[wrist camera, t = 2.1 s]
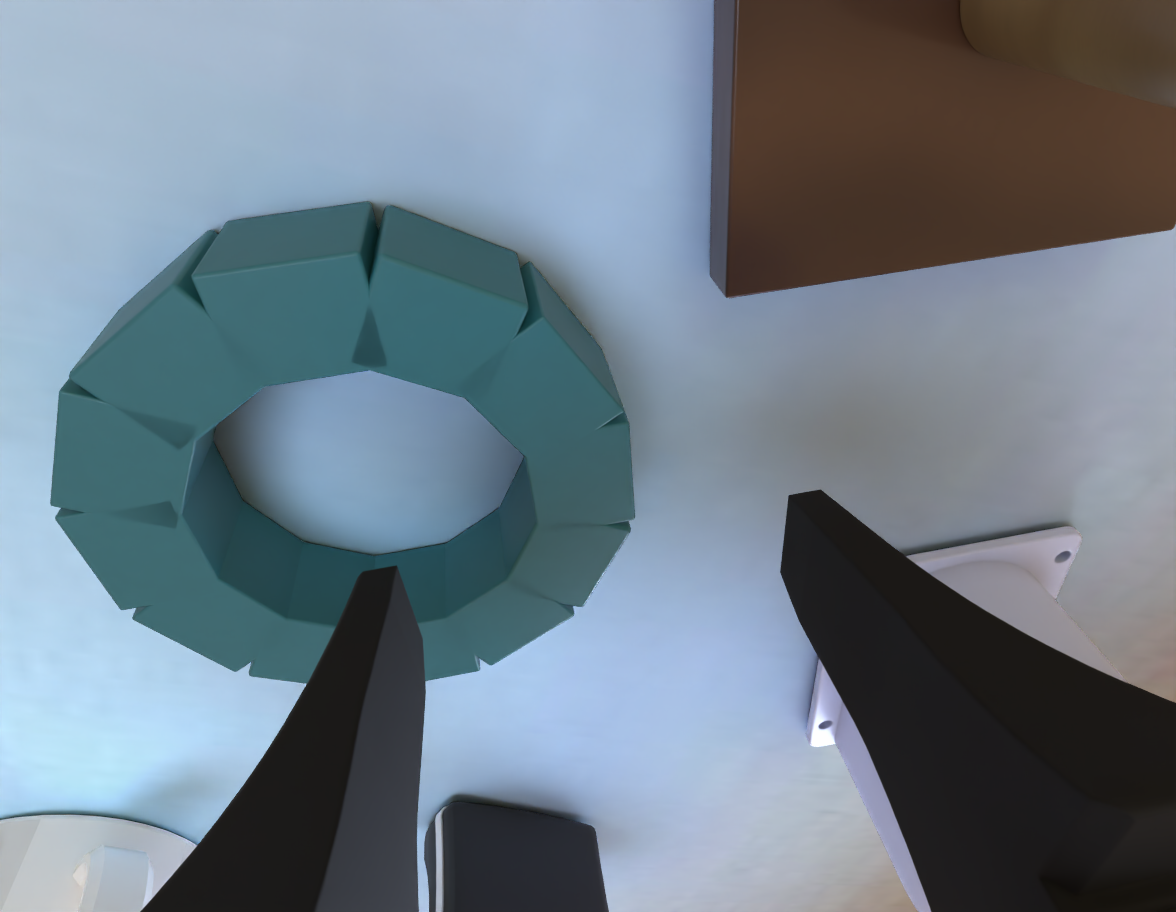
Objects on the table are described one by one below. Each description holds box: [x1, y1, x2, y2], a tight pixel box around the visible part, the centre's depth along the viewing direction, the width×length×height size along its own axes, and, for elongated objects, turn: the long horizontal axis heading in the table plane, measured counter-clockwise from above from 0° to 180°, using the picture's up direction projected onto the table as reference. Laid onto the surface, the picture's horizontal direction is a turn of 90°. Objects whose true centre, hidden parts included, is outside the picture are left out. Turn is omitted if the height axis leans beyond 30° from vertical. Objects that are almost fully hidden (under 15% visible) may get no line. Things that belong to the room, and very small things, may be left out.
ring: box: [50, 202, 635, 683], centre depth 16 cm, size 11×11×3 cm
